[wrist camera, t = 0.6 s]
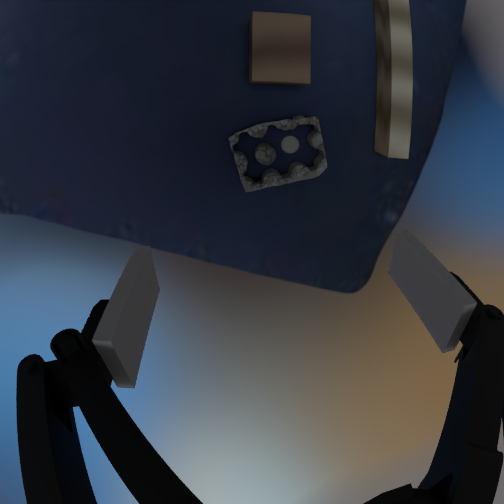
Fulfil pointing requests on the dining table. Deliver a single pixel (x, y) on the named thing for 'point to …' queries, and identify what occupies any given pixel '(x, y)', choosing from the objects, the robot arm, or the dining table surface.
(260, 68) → the block
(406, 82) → the board
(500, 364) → the robot arm
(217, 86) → the dining table surface
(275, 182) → the egg carton
